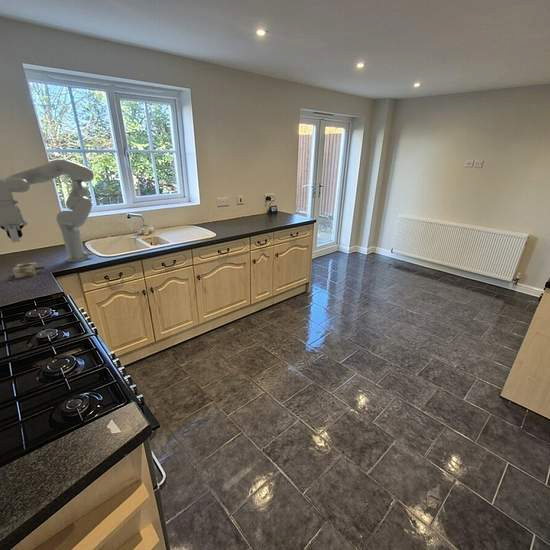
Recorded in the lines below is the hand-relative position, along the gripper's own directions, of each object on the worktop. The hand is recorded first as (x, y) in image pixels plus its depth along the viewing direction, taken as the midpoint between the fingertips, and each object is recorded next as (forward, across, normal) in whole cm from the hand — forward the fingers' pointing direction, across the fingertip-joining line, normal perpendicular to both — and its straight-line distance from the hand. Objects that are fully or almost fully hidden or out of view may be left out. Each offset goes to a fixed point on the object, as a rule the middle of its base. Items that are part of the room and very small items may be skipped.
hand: (15, 237), depth 164 cm
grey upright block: (+2, 0, 0) cm, 2 cm away
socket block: (+22, -2, 0) cm, 22 cm away
